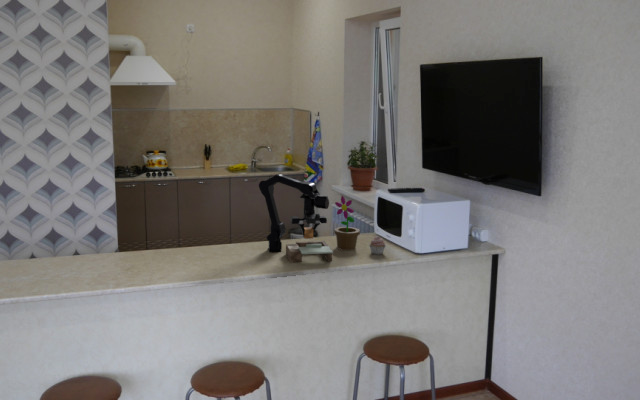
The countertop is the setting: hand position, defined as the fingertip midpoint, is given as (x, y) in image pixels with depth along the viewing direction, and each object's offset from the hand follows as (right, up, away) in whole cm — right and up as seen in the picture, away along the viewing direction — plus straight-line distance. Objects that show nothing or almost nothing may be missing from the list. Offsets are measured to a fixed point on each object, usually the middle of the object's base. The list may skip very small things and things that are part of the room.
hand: (308, 235), depth 311 cm
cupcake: (+38, -11, +9) cm, 40 cm away
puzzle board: (0, -11, 0) cm, 11 cm away
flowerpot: (+21, -8, +19) cm, 30 cm away
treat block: (0, -1, 0) cm, 1 cm away
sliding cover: (+4, -7, -10) cm, 13 cm away
